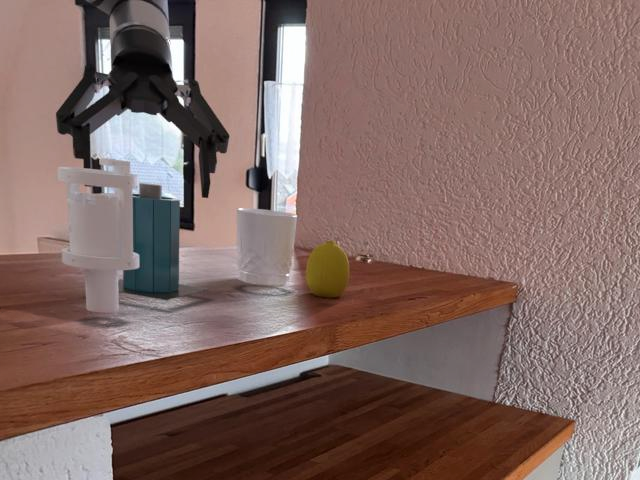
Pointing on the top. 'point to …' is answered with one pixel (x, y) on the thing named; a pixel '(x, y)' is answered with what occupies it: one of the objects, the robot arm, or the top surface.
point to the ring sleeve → (155, 245)
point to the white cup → (265, 246)
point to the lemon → (327, 270)
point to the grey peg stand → (156, 193)
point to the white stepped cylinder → (101, 230)
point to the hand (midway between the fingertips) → (148, 184)
